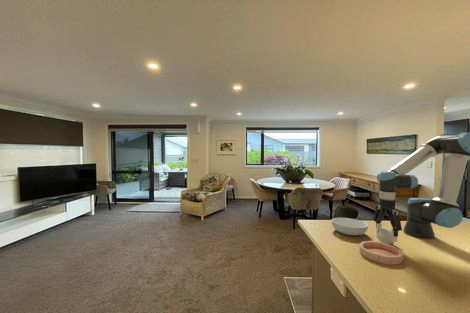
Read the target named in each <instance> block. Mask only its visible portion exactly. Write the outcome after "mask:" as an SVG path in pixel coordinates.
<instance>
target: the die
mask: <svg viewBox="0 0 470 313" xmlns="http://www.w3.org/2000/svg"><path fill="white" fill-rule="evenodd" d="M375 237H376V239H377V240H379V242H381V243H385V244H388V245H392V246H394V243H395V242H391V238H392V229H390V228H382V229H380V230H379V232H378V234H377V233H376V235H375Z"/></svg>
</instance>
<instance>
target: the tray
mask: <svg viewBox="0 0 470 313" xmlns="http://www.w3.org/2000/svg"><path fill="white" fill-rule="evenodd" d="M358 250H359V254H360V255H362V256H363V257H364V258H366V259H368V260H370V261H373V262H375V263H378V264H382V265H383V264H384V265H389V266H390V265H391V266H396V265H401V264H403V260H404V259H405V258H404V257H405V256H404V253H403V251H402V250H401V249H399V248H397V247H396V246H394V245H388V244H385V243H381V241H373V240H367V241H366V240H364V241H363V240H362V241H361V242H360V243H358Z"/></svg>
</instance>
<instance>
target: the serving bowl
mask: <svg viewBox="0 0 470 313" xmlns="http://www.w3.org/2000/svg"><path fill="white" fill-rule="evenodd" d="M331 225H332V228H333V229H334V230H336V232H338V233H341V234H344V235H347V236H361V235H363V234H365V233H366V232H367V231H368V228H369V224H368V223H367V222H365V221H363V220H359V219H355V218H349V217H335V218H332V219H331Z"/></svg>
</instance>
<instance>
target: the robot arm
mask: <svg viewBox="0 0 470 313" xmlns="http://www.w3.org/2000/svg"><path fill="white" fill-rule="evenodd" d="M441 154H443V156H444V157H445V161H444V164H443V168H442V172H441V176H440V179H439V183H438V186H437V191H436V194H435V196H434V197H433V198H423V197H422V198H421V197H410V198H408V200H407V210H406V211H407V215H406V216H407V217H406V218H407V219H406V222H405V225H404V226H403V227H402V223H401V218H400V211H396V210H395V207H396V198H397V197H396V193H397V192H396V191H397V189H409V190H410V189H415V188H417V187H418V185H419V179H418V177H417V176H416V175H413V174H408V173H410V172H411V171H413V170H414V169H415V168H417V167H418V166H420V165H422V164H423V163H424V162H426V161H428V160H429V159H430V158H435V157H436V156H438V155H441ZM469 160H470V132H457V133H444V134H443V133H442V134H439V135H437V136H434V137H432V138H430V139H429V140H427V141H425V142H423V143H422V144H421V145H420V146H419V148H418V149H417V150H415V151H414V152H413V153H411V154H410V155H408V156H407V157H405V158H404V159H402V160H401V161H400V162H398V163H397V164H395V165H394V166H392V167H391V168H390V169H388V170H384V171H383V170H382V171H381V172H379V173H377V174H376V180H377V182H378V183H379V191H378V192H379V195H378V196H379V197H378V198H379V199H378V205H375V209H374V210H375V211H374V216H373V219H372V221H373V222H375V229H376V235H377V234H378V232H379V230H380V229H383V223H382V221H383V219H384V218H385V216H386V217H387V218H388V220H389V222H390V225H391V227H392V229H391V231H392V238H391V242H394V243H397V242H398V237H399V231H402V230H403V233H404V234H406V235H408V236H412V237H414V238H420V239H425V240H426V239H427V240H432V239H435V238H436V236H435V232H434V228H433V226H432V224H434V225H436V226H439V227H442V228H446V229H447V228H448V229H451V228H452V229H453V228H455V227H457V226H459V225H460V224H461V223H462V221H463V217H464V214H462V213H463V212H462V211H461V209H459V207H460V205H459V204H458V203H457V199H458V196H459V193H460V189H461V185H462V181H463V179H464V178H463V177H464V175H465V170H466V166H467V163H468V161H469Z"/></svg>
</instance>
